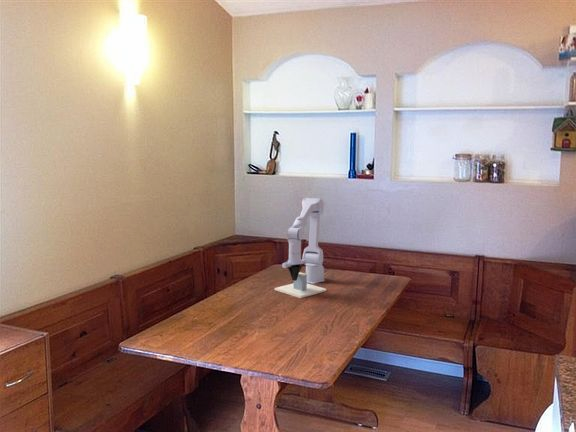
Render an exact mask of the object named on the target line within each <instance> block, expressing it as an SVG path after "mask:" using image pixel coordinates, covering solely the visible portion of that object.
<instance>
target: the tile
mask: <svg viewBox="0 0 576 432" xmlns="http://www.w3.org/2000/svg"><path fill="white" fill-rule="evenodd" d="M274 291H277V292H280V293H283V294H287V295H289V296H292V297H295V298H299V299H303V298H306V297H310V296H313V295H314V296H315V295H317V294H319V293H323V292H327V288H325V287H321V286H317V285H315V284H311V283H307V290H304V291H300V290H297V289H294V282H292V283H288V284H286V285H282V286H278V287H274Z"/></svg>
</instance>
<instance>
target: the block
mask: <svg viewBox="0 0 576 432" xmlns="http://www.w3.org/2000/svg"><path fill="white" fill-rule="evenodd" d="M293 283H294V289H297V290H300V291H304V290H307V284H308V282H307V274H306V272H301V271H300V272H299V274H298V278H297V280H296V281H294V280H293Z"/></svg>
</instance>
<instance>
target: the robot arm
mask: <svg viewBox="0 0 576 432" xmlns="http://www.w3.org/2000/svg"><path fill="white" fill-rule="evenodd" d="M323 200H324V199H322V198H318V197H317V198H315V197H314V198H313V197H312V198H311V197H304V198H303V199H302V201H301V207H302V210H301V212H300V215H299V216H297V217H296V218H295V220H294V222H293V224H292V226H291V227H289V228H288V229H287V231H286V237H287V242H288V259H287V261H285V262H283V263H282V264H281V267H282V268H283V269H288V271H289V273H290V277H291V280H292V281H293V282H294V281H296V280H297V278H298V274H299V272H301V270H302V268H303V267H302V265H303V264H304V265H305V274H307V284H311V285H315V284H318V283H322V282H325V281H326V279H325V277H324V275H325V267H324V265H323V261H324V251H323V249H322V248H321V247H320V246H319V235H320V222H321V221H320V219H321V215H323V213H324V204H325V203H324V201H323ZM309 216H310V219H309V232H308V233H309V235H308V246H306V247H305V248H304V249H303V253H302V249H301V247H302V239H303V238H304V233H305V228H306V225H307V224H308V220H307V219H308V218H309ZM301 255H302V256H301ZM301 258H302V259H301Z"/></svg>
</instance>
